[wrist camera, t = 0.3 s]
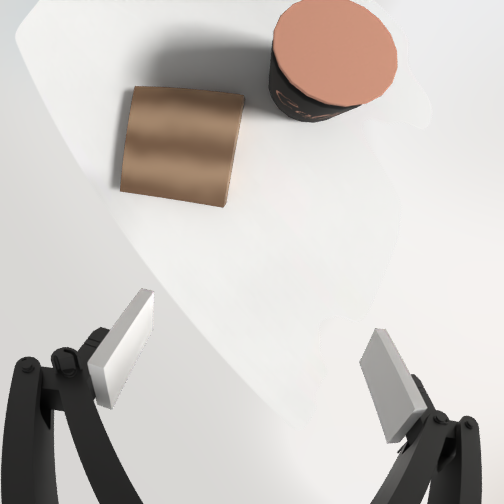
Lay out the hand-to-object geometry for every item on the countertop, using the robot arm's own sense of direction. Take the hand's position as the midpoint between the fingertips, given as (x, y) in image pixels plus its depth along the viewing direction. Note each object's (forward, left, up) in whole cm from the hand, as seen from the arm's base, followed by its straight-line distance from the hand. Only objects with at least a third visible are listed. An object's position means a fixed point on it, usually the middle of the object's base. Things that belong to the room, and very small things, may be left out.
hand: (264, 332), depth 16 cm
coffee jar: (-20, +2, -28) cm, 34 cm away
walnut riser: (-9, -13, -27) cm, 31 cm away
